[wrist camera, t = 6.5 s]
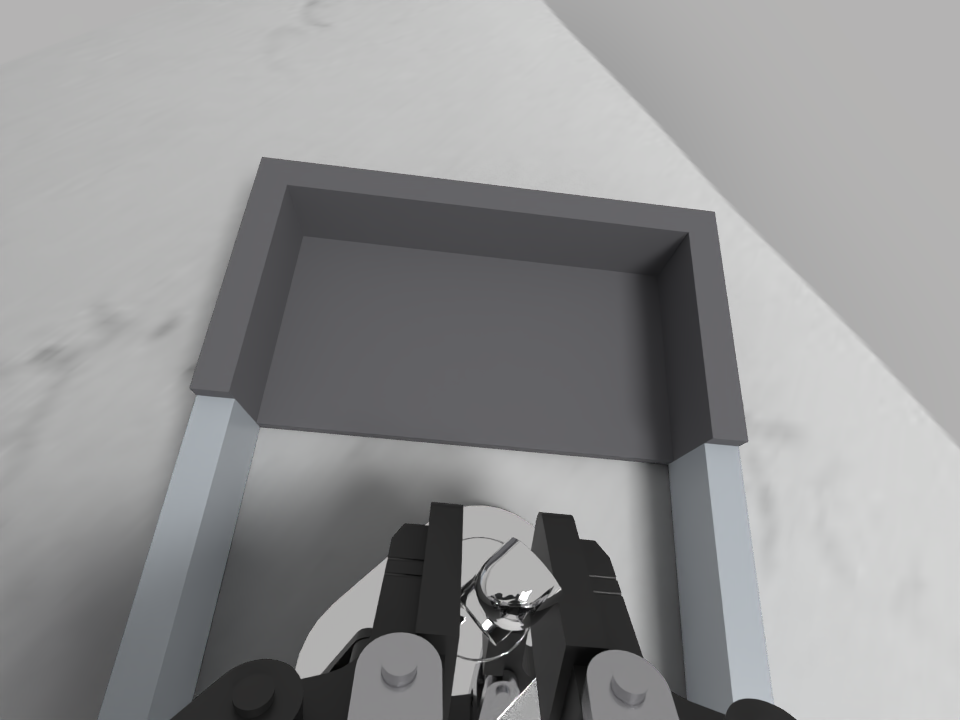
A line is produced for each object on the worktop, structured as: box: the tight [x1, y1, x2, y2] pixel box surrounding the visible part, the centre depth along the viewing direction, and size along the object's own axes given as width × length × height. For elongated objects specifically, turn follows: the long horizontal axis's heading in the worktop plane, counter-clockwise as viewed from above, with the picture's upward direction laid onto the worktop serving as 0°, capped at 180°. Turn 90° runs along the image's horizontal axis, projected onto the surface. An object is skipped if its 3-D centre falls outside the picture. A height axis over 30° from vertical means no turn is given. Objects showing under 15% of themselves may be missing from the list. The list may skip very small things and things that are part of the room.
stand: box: [295, 505, 563, 720], centre depth 11 cm, size 8×5×8 cm
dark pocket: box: [190, 157, 748, 464], centre depth 18 cm, size 15×8×3 cm, turn 86°
